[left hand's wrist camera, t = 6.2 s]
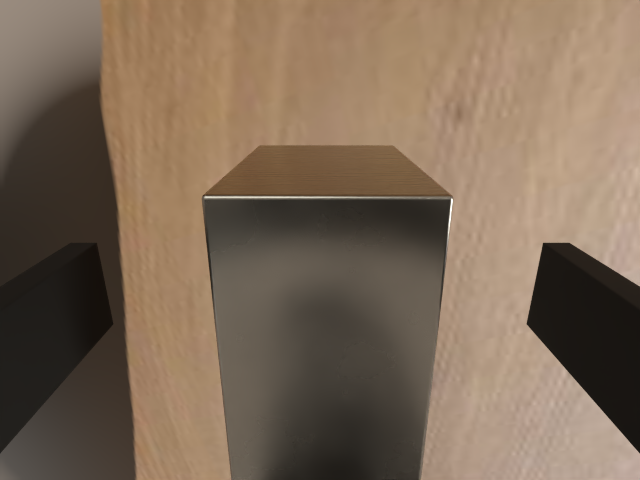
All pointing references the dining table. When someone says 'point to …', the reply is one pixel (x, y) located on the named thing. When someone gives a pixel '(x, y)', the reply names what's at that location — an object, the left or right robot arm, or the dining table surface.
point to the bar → (326, 310)
